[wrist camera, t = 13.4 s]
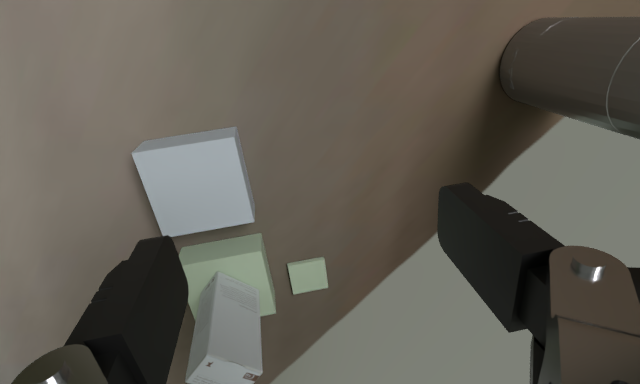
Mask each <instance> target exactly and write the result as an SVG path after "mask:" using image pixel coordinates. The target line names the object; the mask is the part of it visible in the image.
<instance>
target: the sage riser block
mask: <svg viewBox="0 0 640 384" xmlns="http://www.w3.org/2000/svg"><path fill="white" fill-rule="evenodd" d="M179 259H180V261H181V264H182V267H183V269H184V272H185V275H186V278H187V282H188V289H189V296H188V303H189V306H190V308H191V311H192V314H193V316H194V319H195V321H196V317H197V311H198V306H199V301H200V295H201V292H202V291H203V290H204V288H205V287H206V286H207V284H208V283H209V282H210V280H211V279H212V278H213V276H214V275H215V274H216V272H217V271H218V272H221V273H223V274H225V275H227V276H230V277H232V278H234V279H236V280H238V281H241V282H243V283H245V284H247V285H250V286H252V287H254V288H256V289H258V290H259V298H260V316H265V315H270V314H275V313H276V305H275V291H274V286H273V282H272V278H271V273H270V269H269V265H268V260H267V256H266V252H265V247H264V243H263V239H262V234H261V233H258V234H252V235H247V236H241V237H236V238H230V239H225V240H219V241H214V242H208V243H203V244H197V245H192V246H186V247H182V248H181V251H180V254H179Z"/></svg>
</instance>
